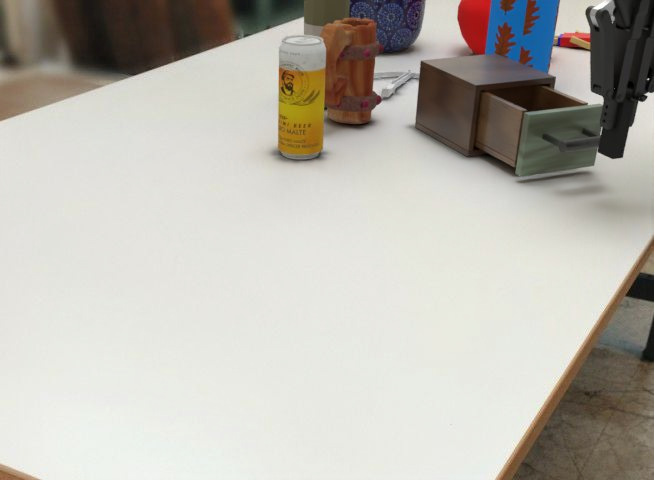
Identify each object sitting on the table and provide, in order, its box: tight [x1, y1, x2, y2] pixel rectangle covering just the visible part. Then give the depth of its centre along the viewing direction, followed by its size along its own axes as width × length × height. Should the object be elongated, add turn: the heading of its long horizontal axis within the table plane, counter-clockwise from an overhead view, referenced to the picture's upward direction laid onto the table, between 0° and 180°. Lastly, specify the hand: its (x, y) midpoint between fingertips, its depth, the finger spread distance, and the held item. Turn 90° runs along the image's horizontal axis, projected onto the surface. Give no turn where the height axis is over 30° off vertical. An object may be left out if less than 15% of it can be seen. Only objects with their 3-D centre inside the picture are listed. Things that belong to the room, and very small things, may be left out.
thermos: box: [485, 0, 561, 74], centre depth 152 cm, size 11×11×25 cm
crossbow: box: [374, 69, 420, 98], centre depth 157 cm, size 16×13×2 cm
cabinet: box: [414, 53, 557, 158], centre depth 132 cm, size 15×13×10 cm
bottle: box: [303, 0, 350, 109], centre depth 140 cm, size 7×7×30 cm
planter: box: [349, 0, 427, 54], centre depth 179 cm, size 17×17×15 cm
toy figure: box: [553, 30, 590, 51], centre depth 185 cm, size 2×7×12 cm
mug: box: [320, 18, 384, 125], centre depth 135 cm, size 15×8×15 cm, turn 149°
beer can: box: [277, 34, 326, 161], centre depth 123 cm, size 6×6×15 cm
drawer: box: [474, 84, 603, 177], centre depth 120 cm, size 18×11×8 cm, turn 22°
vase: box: [456, 0, 560, 55], centre depth 173 cm, size 18×18×19 cm
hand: (610, 154), depth 110 cm, fingers closed
